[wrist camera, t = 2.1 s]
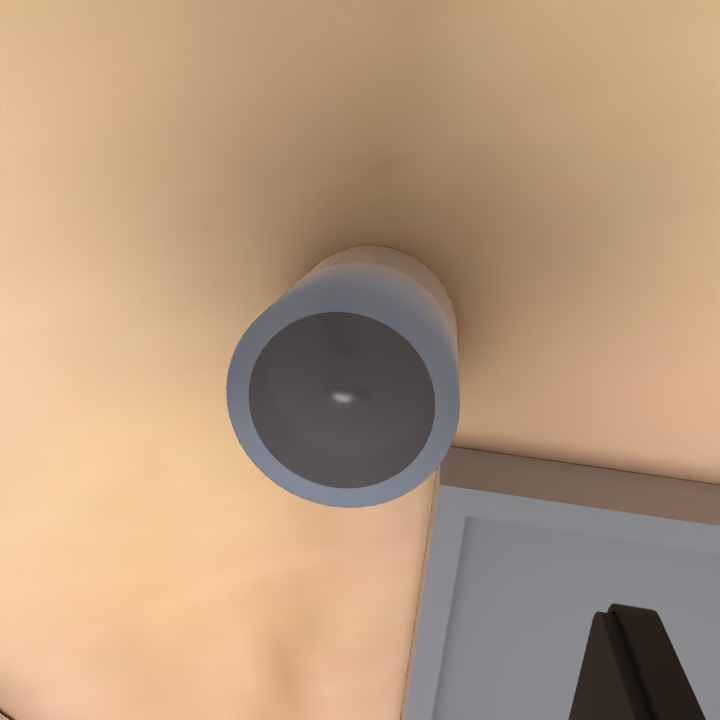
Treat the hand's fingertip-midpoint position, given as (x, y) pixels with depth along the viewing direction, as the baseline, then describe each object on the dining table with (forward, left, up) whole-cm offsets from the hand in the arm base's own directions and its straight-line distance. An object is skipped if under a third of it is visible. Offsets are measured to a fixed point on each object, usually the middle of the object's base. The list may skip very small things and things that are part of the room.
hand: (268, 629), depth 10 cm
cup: (-1, 0, -15) cm, 15 cm away
